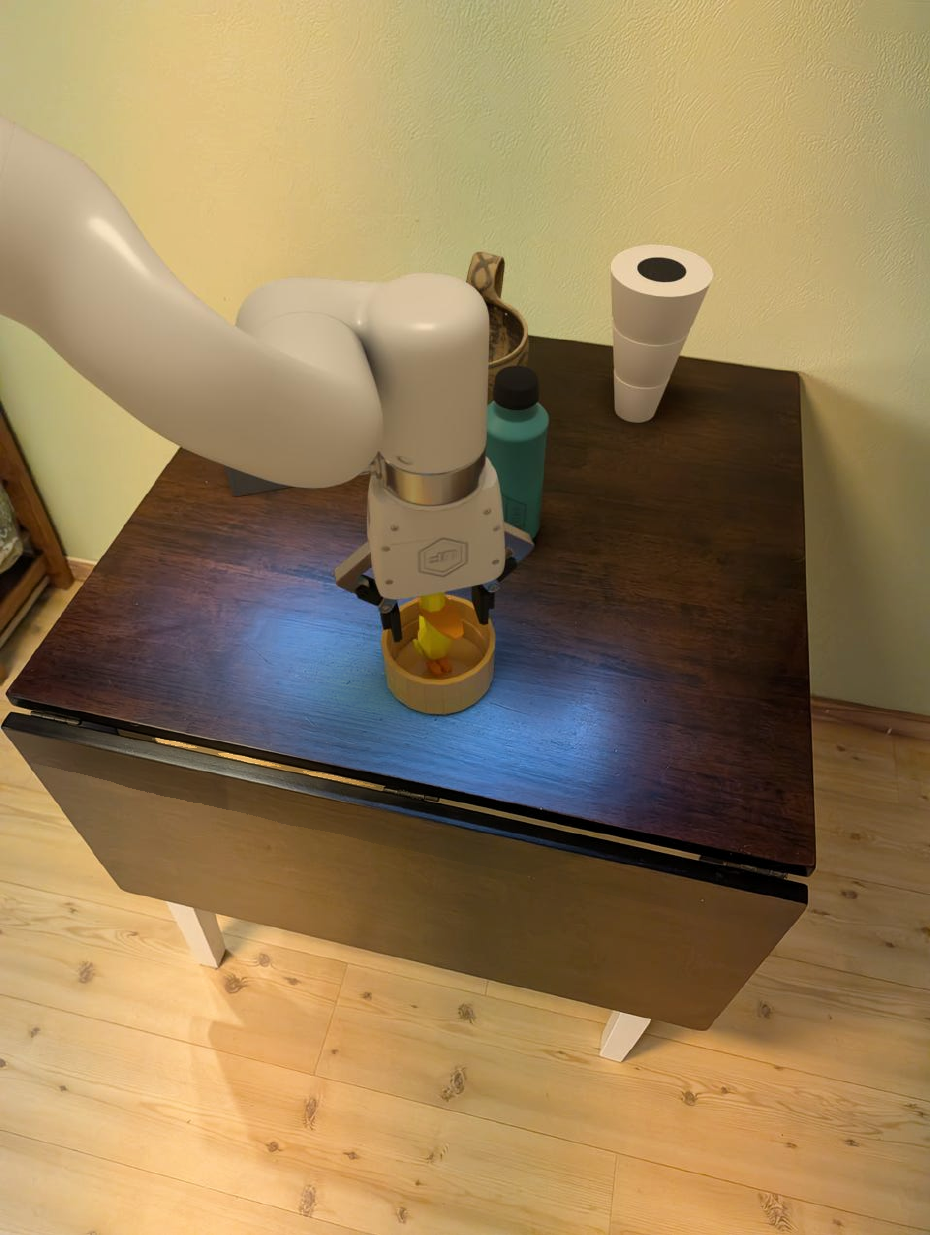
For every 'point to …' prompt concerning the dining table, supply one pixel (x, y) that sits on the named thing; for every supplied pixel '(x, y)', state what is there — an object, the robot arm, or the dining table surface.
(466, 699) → the mustard bowl
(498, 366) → the ceramic bowl
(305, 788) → the dining table surface
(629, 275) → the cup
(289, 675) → the dining table surface
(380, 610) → the robot arm
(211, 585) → the dining table surface
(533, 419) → the beverage bottle
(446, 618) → the toy figure
